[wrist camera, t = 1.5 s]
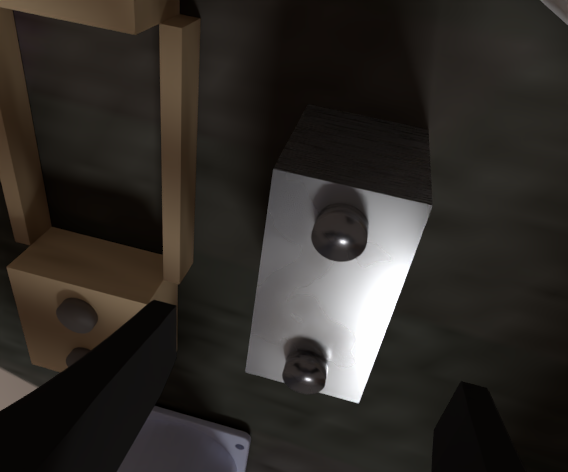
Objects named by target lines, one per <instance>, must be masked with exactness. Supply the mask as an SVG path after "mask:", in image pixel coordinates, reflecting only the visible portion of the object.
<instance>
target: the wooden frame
mask: <svg viewBox="0 0 568 472" xmlns="http://www.w3.org/2000/svg"><path fill="white" fill-rule="evenodd" d="M13 10H17V11H22V12H27V13H31V14H36V15H41V16H46V17H51V18H56V19H61V20H65V21H70V22H75V23H80V24H85V25H90V26H94V27H99V28H104V29H109V30H114V31H119V32H124V33H128V34H133V35H136V34H138V33H140V32H143V31H145V30H147V29H149V28H151V27H153V26H155V25H157V24H159V37H160V97H161V157H162V218H163V255H161V254H157V253H153V252H149V251H145V250H141V249H138V248H134V247H130V246H126V245H122V244H118V243H114V242H110V241H106V240H102V239H98V238H94V237H90V236H86V235H83V234H79V233H75V232H71V231H67V230H63V229H59V228H55V227H52V225H51V220H50V214H49V209H48V203H47V198H46V192H45V187H44V181H43V176H42V170H41V165H40V159H39V154H38V148H37V142H36V137H35V131H34V126H33V120H32V115H31V109H30V104H29V98H28V93H27V87H26V82H25V76H24V71H23V65H22V60H21V54H20V49H19V43H18V38H17V32H16V27H15V21H14V16H13ZM200 21H201V18H196V17H191V16H186V15H181V14H180V0H0V180H1V184H2V188H3V192H4V197H5V201H6V205H7V209H8V213H9V217H10V222H11V226H12V230H13V234H14V238H15V242H18V243H22V244H26V245H30V246H29V247H28V248H27V249H26V250H25V251H24V252H23V253H22V254H20V255H19V256H18V257H17V258H16V259H15V260H14V261H13V262H11V263H10V264H9V265H8V266H7V267H6V268H7V271H8V275H9V279H10V283H11V286H12V290H13V294H14V298H15V302H16V305H17V309H18V313H19V317H20V321H21V324H22V328H23V332H24V336H25V339H26V343H27V347H28V351H29V355H30V358H31V362H32V364H34V365H37V366H41V367H44V368H48V369H51V370H55V371H58V372H62V371H63V370H65V369H66V368H68V367H69V366H70V365H72V364H73V363H75V362H76V361H78V360H79V359H80V358H82V357H83V356H84V355H86V354H87V353H88V352H89V351H91V350H92V349H93V348H95V347H96V346H97V345H98V344H100V343H101V342H102V341H104V340H105V339H106V338H107V337H109V336H110V335H111V334H112V333H114V332H115V331H116V330H117V329H119V328H120V327H121V326H122V325H123V324H125V323H126V322H127V321H128V320H129V319H131V318H132V317H133V316H134V315H135V314H136V313H138V312H139V311H140V310H141V309H142V308H143V307H145V306H146V305H147V304H148V303H149V302H151V301H153V300H158V301H161V302H165V303H169V304H173V305H176V306H177V327H178V284H180V283H181V281H182V280H183V278H184V277H185V275H186V273H187V272H188V270H189V269H190V267H191V265H192V264H193V251H194V218H195V185H196V152H197V119H198V87H199V54H200ZM176 352H177V337H176Z"/></svg>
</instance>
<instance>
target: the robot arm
mask: <svg viewBox="0 0 568 472" xmlns="http://www.w3.org/2000/svg"><path fill="white" fill-rule="evenodd" d="M176 337H177V306H176V305H173V304H169V303H165V302H161V301H158V300H153V301H151V302H149V303H148V304H147V305H146V306H145V307H143V308H142V309H141V310H140V311H139V312H138V313H136V314H135V315H134V316H133V317H132V318H131V319H129V320H128V321H127V322H126V323H125V324H123V325H122V326H121V327H120V328H119V329H117V330H116V331H115V332H114V333H112V334H111V335H110V336H109V337H107V338H106V339H105V340H104V341H102V342H101V343H100V344H98V345H97V346H96V347H95V348H93V349H92V350H91V351H89V352H88V353H87V354H86V355H84V356H83V357H82V358H80V359H79V360H78V361H76V362H75V363H73V364H72V365H70V366H69V367H68V368H66V369H65V370H63V371H62V372H61V373H59V374H58V375H56V376H55V377H53V378H52V379H51V380H49V381H48V382H46V383H45V384H43V385H42V386H40V387H39V388H37V389H36V390H34V391H33V392H31V393H29V394H28V395H26V396H24V397H23V398H21V399H20V400H18V401H16V402H15V403H13V404H11V405H10V406H8V407H6V408H5V409H3V410H1V411H0V472H245V471H246V465H247V459H248V453H249V447H250V441H251V437H250V435H249V434H248V433H246V432H244V431H241V430H237V429H234V428H230V427H227V426H223V425H220V424H217V423H213V422H210V421H206V420H203V419H199V418H196V417H192V416H189V415H185V414H182V413H178V412H175V411H172V410H168V409H165V408H161V407H158V406H155V404H156V402H157V401H158V399H159V397H160V395H161V393H162V391H163V389H164V386H165V384H166V382H167V379H168V377H169V375H170V372H171V370H172V368H173V365H174V363H175V360H176ZM432 472H527V471H526V469H525V467H524V465H523V463H522V461H521V459H520V457H519V455H518V453H517V451H516V449H515V447H514V445H513V443H512V441H511V439H510V436H509V434H508V432H507V430H506V428H505V426H504V424H503V421H502V419H501V417H500V415H499V412H498V410H497V408H496V406H495V404H494V401H493V399H492V397H491V395H490V392H489V391H488V389H487V388H485V387H481V386H477V385H473V384H470V383H466V382H462V381H461V382H460V384H459V386H458V388H457V389H456V391H455V393H454V395H453V397H452V398H451V400H450V402H449V404H448V406H447V407H446V409H445V411H444V413H443V414H442V416H441V418H440V420H439V422H438V423H437V425H436V427H435V429H434V437H433V452H432Z"/></svg>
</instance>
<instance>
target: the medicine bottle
mask: <svg viewBox="0 0 568 472" xmlns="http://www.w3.org/2000/svg"><path fill="white" fill-rule="evenodd" d="M540 1H542V2H543V3H544V4H545V5H546V6H547V7H548V8H549V9H550V10H552V11H553V12H554V13H555V14H556V15H557V16H558V17H559V18H560V19H561V20H563V21H564V22H565V23H566V24H567V25H568V0H540Z"/></svg>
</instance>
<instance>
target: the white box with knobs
mask: <svg viewBox="0 0 568 472" xmlns="http://www.w3.org/2000/svg"><path fill="white" fill-rule="evenodd" d="M432 206H433V203H432V184H431V166H430V148H429V130H428V129H423V128H419V127H414V126H409V125H405V124H400V123H395V122H391V121H386V120H381V119H377V118H372V117H367V116H363V115H358V114H353V113H349V112H344V111H339V110H335V109H330V108H325V107H321V106H316V105H311V104H308V105H307V107H306V109H305V111H304V112H303V114H302V116H301V118H300V120H299V122H298V124H297V125H296V127H295V129H294V131H293V133H292V135H291V137H290V139H289V140H288V142H287V144H286V146H285V148H284V150H283V152H282V153H281V155H280V157H279V159H278V161H277V163H276V165H275V166H274V168H273V174H272V181H271V189H270V196H269V203H268V210H267V218H266V225H265V232H264V240H263V247H262V254H261V262H260V269H259V276H258V283H257V291H256V298H255V305H254V313H253V320H252V327H251V335H250V342H249V349H248V357H247V364H246V371H245V372H247V373H250V374H254V375H258V376H261V377H265V378H269V379H272V380H276V381H280V382H283V383H285V384H286V385H287V386H288V387H289V388H291V389H292V390H294V391H296V392H299V393H303V394H314V393H318V392H319V393H323V394H327V395H330V396H334V397H338V398H341V399H345V400H349V401H352V402H356V403H359V401H360V398H361V396H362V393H363V390H364V388H365V385H366V382H367V380H368V377H369V374H370V372H371V369H372V366H373V364H374V361H375V358H376V356H377V353H378V350H379V348H380V345H381V342H382V340H383V337H384V334H385V332H386V329H387V326H388V324H389V321H390V318H391V316H392V313H393V310H394V308H395V305H396V302H397V300H398V297H399V294H400V292H401V289H402V286H403V284H404V281H405V278H406V275H407V273H408V270H409V267H410V265H411V262H412V259H413V257H414V254H415V251H416V249H417V246H418V243H419V241H420V238H421V235H422V233H423V230H424V227H425V225H426V222H427V219H428V217H429V214H430V211H431V209H432Z"/></svg>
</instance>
